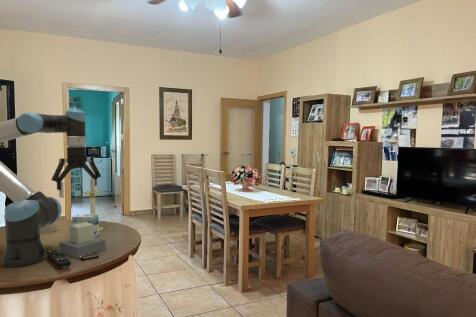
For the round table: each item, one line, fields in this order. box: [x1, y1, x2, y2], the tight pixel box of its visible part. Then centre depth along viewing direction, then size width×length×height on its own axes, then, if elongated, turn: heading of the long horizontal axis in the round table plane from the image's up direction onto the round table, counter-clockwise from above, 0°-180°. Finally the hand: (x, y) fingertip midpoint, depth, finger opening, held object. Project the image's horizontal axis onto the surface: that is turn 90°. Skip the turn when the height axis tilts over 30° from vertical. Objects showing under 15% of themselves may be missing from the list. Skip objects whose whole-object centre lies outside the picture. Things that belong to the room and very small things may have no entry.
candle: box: [83, 163, 104, 232], centre depth 186 cm, size 10×10×38 cm
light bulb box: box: [71, 213, 100, 238], centre depth 175 cm, size 11×7×11 cm, turn 84°
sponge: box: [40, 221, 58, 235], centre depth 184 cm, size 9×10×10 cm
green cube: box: [69, 222, 94, 244], centre depth 151 cm, size 7×7×7 cm
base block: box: [58, 236, 106, 260], centre depth 152 cm, size 13×13×5 cm
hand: (77, 195), depth 152 cm, fingers open, 13 cm apart
